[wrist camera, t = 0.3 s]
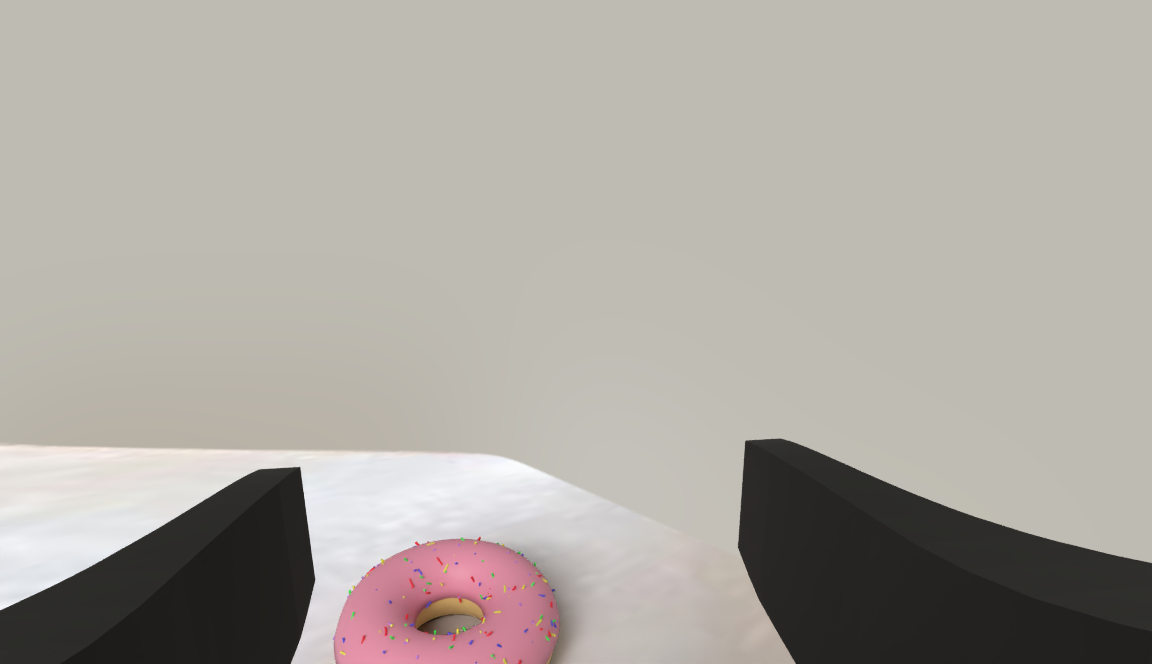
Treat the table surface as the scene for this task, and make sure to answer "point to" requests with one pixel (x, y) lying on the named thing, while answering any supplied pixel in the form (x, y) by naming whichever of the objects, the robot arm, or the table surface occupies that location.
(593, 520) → the table surface
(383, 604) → the doughnut
